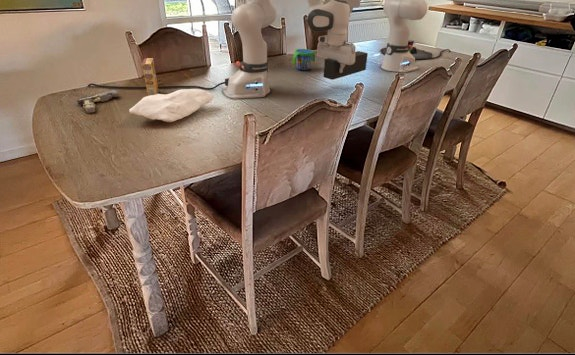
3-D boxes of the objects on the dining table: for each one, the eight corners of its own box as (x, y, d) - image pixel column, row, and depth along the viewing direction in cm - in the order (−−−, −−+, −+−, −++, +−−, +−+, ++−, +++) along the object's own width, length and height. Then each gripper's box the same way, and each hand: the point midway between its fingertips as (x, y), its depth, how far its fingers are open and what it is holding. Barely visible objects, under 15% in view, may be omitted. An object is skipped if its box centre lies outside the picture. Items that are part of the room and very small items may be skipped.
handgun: (128, 97, 156) (111, 87, 164) (86, 107, 144) (70, 97, 152) (129, 103, 157) (113, 94, 165) (88, 114, 146) (72, 103, 154)
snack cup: (308, 65, 218) (310, 47, 212) (319, 69, 210) (321, 51, 205) (287, 68, 210) (287, 50, 205) (297, 73, 203) (298, 54, 197)
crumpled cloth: (117, 110, 146) (113, 90, 140) (195, 92, 166) (194, 73, 160) (143, 139, 134) (140, 118, 128) (223, 116, 154) (224, 96, 148)
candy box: (157, 97, 164) (152, 63, 155) (147, 98, 163) (141, 63, 155) (158, 91, 171) (153, 57, 163) (149, 91, 170) (143, 58, 162)
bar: (332, 79, 166) (333, 61, 162) (323, 77, 170) (324, 59, 165) (365, 70, 182) (367, 53, 177) (356, 67, 185) (358, 51, 181)
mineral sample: (442, 55, 248) (445, 41, 243) (409, 61, 230) (411, 46, 226) (402, 47, 272) (404, 34, 268) (369, 52, 255) (370, 39, 251)
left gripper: (360, 42, 157) (356, 74, 165) (324, 35, 170) (322, 65, 177) (351, 44, 154) (347, 77, 161) (315, 36, 166) (313, 67, 173)
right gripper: (359, -13, 188) (355, 15, 196) (321, -14, 185) (319, 15, 192) (364, -12, 183) (360, 17, 191) (325, -13, 179) (322, 17, 187)
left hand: (334, 70), depth 169 cm, fingers closed on bar, 5 cm apart
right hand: (339, 16), depth 191 cm, fingers open, 8 cm apart
